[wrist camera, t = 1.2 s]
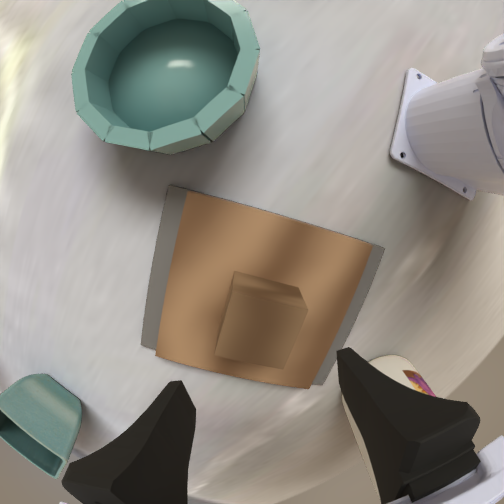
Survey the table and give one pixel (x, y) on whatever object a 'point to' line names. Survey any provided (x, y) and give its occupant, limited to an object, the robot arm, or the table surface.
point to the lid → (256, 292)
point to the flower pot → (40, 421)
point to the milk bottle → (399, 372)
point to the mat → (163, 263)
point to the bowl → (166, 73)
